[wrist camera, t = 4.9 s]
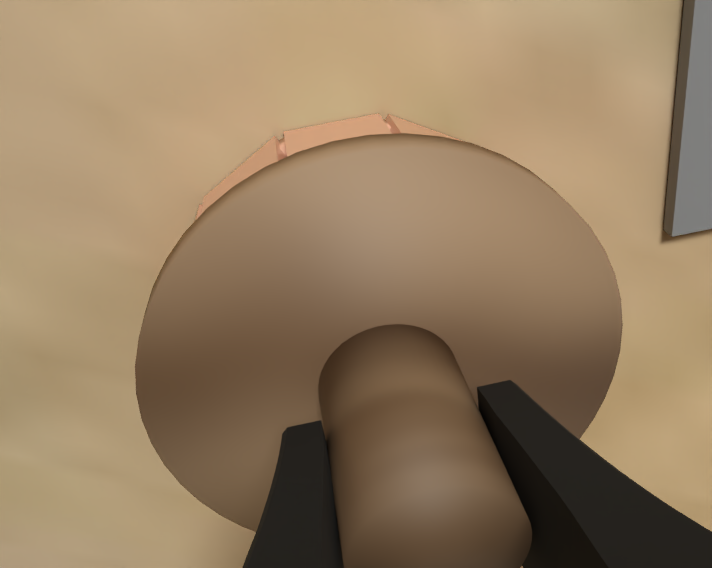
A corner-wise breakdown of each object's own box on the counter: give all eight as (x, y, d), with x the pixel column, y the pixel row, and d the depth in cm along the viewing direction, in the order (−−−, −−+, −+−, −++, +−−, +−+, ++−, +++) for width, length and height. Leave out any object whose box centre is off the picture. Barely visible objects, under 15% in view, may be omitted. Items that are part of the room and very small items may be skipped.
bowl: (532, 390, 19) (579, 470, 16) (231, 455, 19) (228, 548, 16) (525, 85, 15) (588, 123, 12) (132, 160, 14) (104, 219, 12)
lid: (578, 485, 17) (687, 678, 13) (193, 548, 16) (174, 777, 12) (635, 105, 12) (845, 216, 8) (81, 166, 11) (-19, 327, 7)
